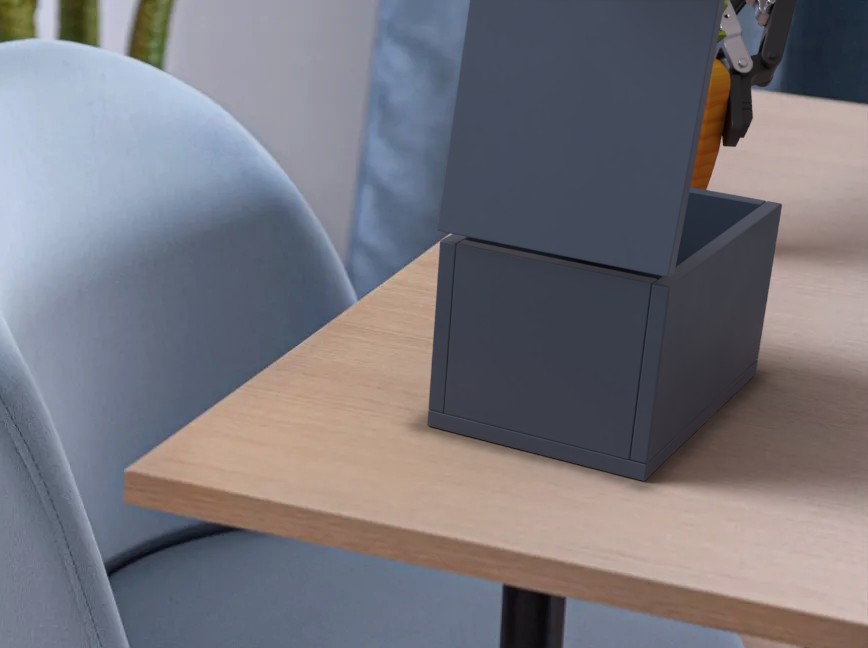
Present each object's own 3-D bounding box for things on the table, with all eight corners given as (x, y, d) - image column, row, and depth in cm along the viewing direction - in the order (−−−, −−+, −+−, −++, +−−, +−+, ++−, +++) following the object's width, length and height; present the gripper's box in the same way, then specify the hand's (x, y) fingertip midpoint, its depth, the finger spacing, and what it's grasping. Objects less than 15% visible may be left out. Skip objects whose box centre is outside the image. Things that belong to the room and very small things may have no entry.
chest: (561, 331, 93) (578, 166, 89) (756, 374, 89) (782, 203, 85) (426, 425, 81) (439, 240, 77) (644, 481, 76) (669, 287, 72)
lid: (502, -173, 72) (445, -192, 67) (753, -150, 68) (711, -169, 63) (444, 229, 77) (387, 237, 72) (674, 275, 72) (629, 287, 68)
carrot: (612, 236, 109) (639, -14, 102) (682, 230, 111) (713, -16, 104) (653, 260, 105) (684, 1, 98) (724, 254, 107) (760, -2, 100)
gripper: (571, -152, 105) (577, 98, 99) (810, -142, 105) (829, 108, 100) (551, -71, 112) (556, 166, 106) (775, -62, 112) (792, 175, 107)
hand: (688, 136), depth 103 cm, fingers closed on carrot, 4 cm apart
